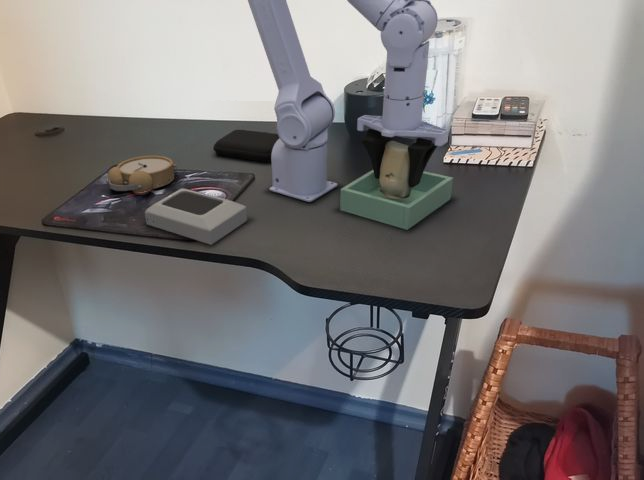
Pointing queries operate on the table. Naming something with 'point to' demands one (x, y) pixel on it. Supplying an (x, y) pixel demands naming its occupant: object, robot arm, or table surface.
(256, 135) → the carrying case
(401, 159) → the beige lumpy block
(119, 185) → the alarm clock
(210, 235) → the grey box with screen
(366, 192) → the basin
